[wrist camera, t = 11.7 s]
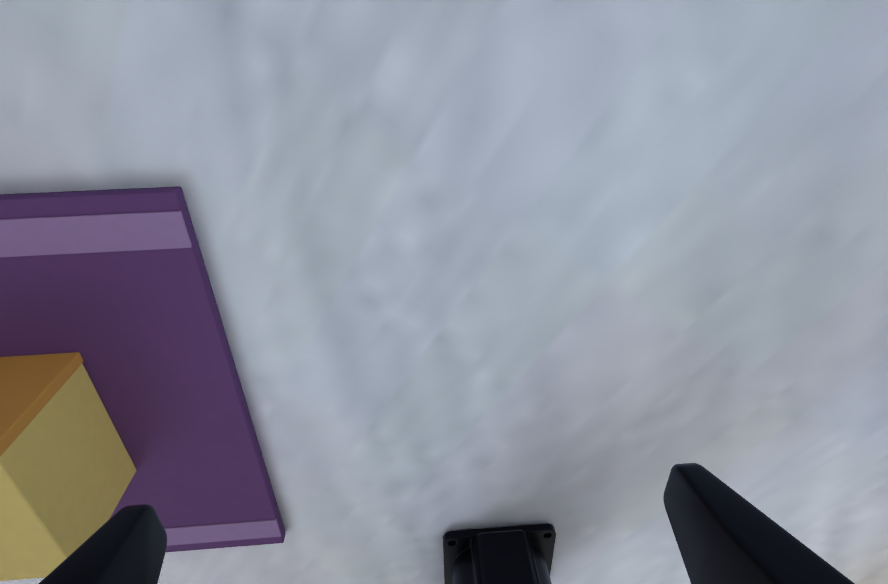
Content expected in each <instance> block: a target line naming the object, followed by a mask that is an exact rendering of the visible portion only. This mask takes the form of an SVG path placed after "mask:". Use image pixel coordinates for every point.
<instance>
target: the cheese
mask: <svg viewBox="0 0 888 584" xmlns="http://www.w3.org/2000/svg"><path fill="white" fill-rule="evenodd" d="M135 472H136V468H135V466H134V464H133V462H132V460H131V458H130V456H129V454H128V452H127V450H126V448H125V446H124V444H123V442H122V440H121V438H120V436H119V434H118V432H117V430H116V428H115V426H114V425H113V423H112V421H111V419H110V417H109V415H108V413H107V411H106V409H105V407H104V405H103V403H102V401H101V399H100V397H99V395H98V393H97V391H96V389H95V387H94V385H93V383H92V381H91V379H90V377H89V375H88V373H87V371H86V369H85V367H84V365H83V358H82V356H81V354H80V353H79V352H73V353H57V354H40V355H23V356H7V357H0V581H6V580H18V579H30V578H42V577H47V576H48V575H49V574H50V573H51V572H52V571H53V570H54V569H55V568H56V567H58V566H59V565H60V564H61V563H62V562H63V561H64V560H65V559H66V558H67V557H68V556H70V555H71V554H72V553H73V552H74V551H75V550H76V549H77V548H78V547H79V546H81V545H82V544H83V543H84V542H85V541H86V540H87V539H88V538H89V537H90V536H91V535H93V534H94V533H95V532H96V531H97V530H98V529H99V528H100V527H101V526H102V525H104V524H105V523H106V522H107V521H108V520H109V519H110V517H111V515H112V513H113V512H114V510H115V508H116V506H117V504H118V503H119V501H120V499H121V497H122V496H123V494H124V492H125V490H126V488H127V487H128V485H129V483H130V481H131V479H132V478H133V476H134V474H135Z"/></svg>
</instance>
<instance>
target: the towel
mask: <svg viewBox="0 0 888 584" xmlns="http://www.w3.org/2000/svg"><path fill="white" fill-rule="evenodd" d="M73 352H79V353H80V354H81V356H82V358H83V365H84V367H85V369H86V371H87V373H88V375H89V377H90V379H91V381H92V383H93V385H94V387H95V389H96V391H97V393H98V395H99V397H100V399H101V401H102V403H103V405H104V407H105V409H106V411H107V413H108V415H109V417H110V419H111V421H112V423H113V425H114V426H115V428H116V430H117V432H118V434H119V436H120V438H121V440H122V442H123V444H124V446H125V448H126V450H127V452H128V454H129V456H130V458H131V460H132V462H133V464H134V466H135V468H136V472H135V474H134V476H133V478H132V479H131V481H130V483H129V485H128V487H127V488H126V490H125V492H124V494H123V496H122V497H121V499H120V501H119V503H118V504H117V506H116V508H115V510H114V512H113V513H112V515H111V517H112V516H113V515H115V514H116V513H117V512H118V511H119V510H120V509H122V508H123V507H126V506H129V505H141V504H150V505H151V506H153V507H154V509H155V511H156V513H157V515H158V517H159V519H160V521H161V523H162V525H163V527H164V529H165V531H166V534H167V547H166V552H174V551H187V550H199V549H211V548H224V547H236V546H249V545H261V544H273V543H283V542H284V538H285V530H284V527H283V524H282V520H281V517H280V514H279V510H278V507H277V504H276V500H275V497H274V494H273V490H272V487H271V484H270V480H269V477H268V474H267V470H266V467H265V464H264V461H263V457H262V454H261V451H260V447H259V444H258V441H257V437H256V434H255V431H254V427H253V424H252V421H251V417H250V414H249V411H248V407H247V404H246V401H245V398H244V394H243V391H242V388H241V384H240V381H239V378H238V374H237V371H236V368H235V364H234V361H233V358H232V354H231V351H230V348H229V344H228V341H227V338H226V335H225V331H224V328H223V325H222V321H221V318H220V315H219V311H218V308H217V305H216V301H215V298H214V295H213V291H212V288H211V285H210V282H209V278H208V275H207V272H206V268H205V265H204V262H203V258H202V255H201V252H200V248H199V245H198V242H197V238H196V235H195V232H194V228H193V225H192V222H191V219H190V215H189V212H188V209H187V205H186V202H185V199H184V195H183V192H182V189H181V187H162V188H139V189H117V190H94V191H72V192H49V193H27V194H4V195H0V357H7V356H23V355H40V354H57V353H73ZM111 517H110V518H111Z"/></svg>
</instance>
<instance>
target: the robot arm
mask: <svg viewBox="0 0 888 584" xmlns="http://www.w3.org/2000/svg"><path fill="white" fill-rule="evenodd" d="M664 505H665V509H666V512H667V515H668V518H669V520H670V523H671V526H672V529H673V532H674V535H675V538H676V541H677V544H678V547H679V549H680V552H681V555H682V558H683V561H684V564H685V567H686V570H687V573H688V576H689V578H690V581H691V584H854V583H853V582H852V581H850V580H849V579H848V578H847V577H845V576H844V575H843V574H841V573H840V572H839V571H837V570H836V569H835V568H834V567H832V566H831V565H830V564H828V563H827V562H826V561H825V560H823V559H822V558H821V557H819V556H818V555H817V554H815V553H814V552H813V551H812V550H810V549H809V548H808V547H806V546H805V545H804V544H802V543H801V542H800V541H799V540H797V539H796V538H795V537H793V536H792V535H791V534H789V533H788V532H787V531H786V530H784V529H783V528H782V527H780V526H779V525H778V524H777V523H775V522H774V521H773V520H771V519H770V518H769V517H767V516H766V515H765V514H764V513H762V512H761V511H760V510H758V509H757V508H756V507H754V506H753V505H752V504H751V503H749V502H748V501H747V500H745V499H744V498H743V497H742V496H740V495H739V494H738V493H736V492H735V491H734V490H732V489H731V488H730V487H729V486H727V485H726V484H725V483H723V482H722V481H721V480H719V479H718V478H717V477H716V476H714V475H713V474H712V473H710V472H709V471H708V470H707V469H705V468H704V467H702V466H701V465H699V464H696V463H686V464H676V465H674V466H673V467H672V469H671V472H670V475H669V479H668V482H667V485H666V488H665V492H664ZM555 537H556V533H555V529H554V526H553V525H551V524H537V525H524V526H512V527H499V528H487V529H475V530H462V531H451V532H447V533H445V534H444V535H443V552H444V577H445V584H552V583H551V580H550V570H551V564H552V557H553V550H554V543H555ZM166 547H167V534H166V531H165V529H164V527H163V525H162V523H161V521H160V519H159V517H158V515H157V513H156V511H155V509H154V507H153V506H151V505H150V504H141V505H129V506H126V507H123V508H122V509H120V510H119V511H118V512H117V513H116V514H115V515H113V516H112V517H111V518H110V519H109V520H108V521H107V522H106V523H105V524H104V525H102V526H101V527H100V528H99V529H98V530H97V531H96V532H95V533H94V534H93V535H91V536H90V537H89V538H88V539H87V540H86V541H85V542H84V543H83V544H82V545H81V546H79V547H78V548H77V549H76V550H75V551H74V552H73V553H72V554H71V555H70V556H68V557H67V558H66V559H65V560H64V561H63V562H62V563H61V564H60V565H59V566H58V567H56V568H55V569H54V570H53V571H52V572H51V573H50V574H49V575H48V576H47V577H45V578H44V579H43V580H42V581H41V582H40V583H39V584H157V583H158V579H159V575H160V571H161V567H162V563H163V560H164V556H165V552H166Z"/></svg>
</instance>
